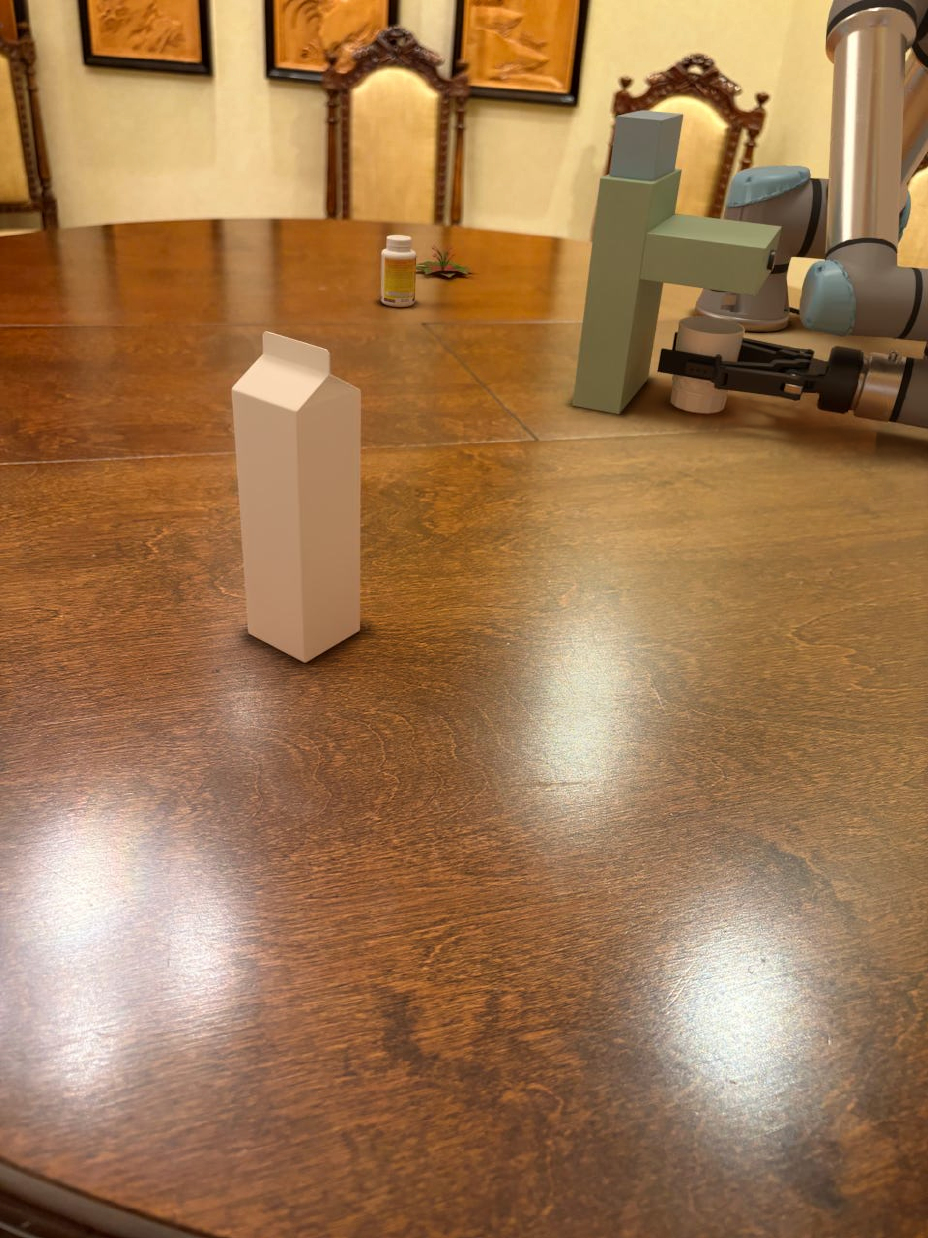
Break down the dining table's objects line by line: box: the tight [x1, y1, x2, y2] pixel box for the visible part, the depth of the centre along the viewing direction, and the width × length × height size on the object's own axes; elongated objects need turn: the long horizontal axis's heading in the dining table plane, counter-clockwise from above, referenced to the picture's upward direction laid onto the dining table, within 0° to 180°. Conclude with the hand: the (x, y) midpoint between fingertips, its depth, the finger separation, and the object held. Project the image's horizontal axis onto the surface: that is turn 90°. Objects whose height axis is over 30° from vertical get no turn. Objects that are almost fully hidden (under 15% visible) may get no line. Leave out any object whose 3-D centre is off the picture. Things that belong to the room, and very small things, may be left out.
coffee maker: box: [572, 109, 782, 415], centre depth 115 cm, size 20×16×32 cm
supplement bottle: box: [380, 234, 417, 308], centre depth 155 cm, size 6×6×10 cm
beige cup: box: [670, 316, 746, 415], centre depth 120 cm, size 8×8×10 cm
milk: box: [231, 331, 362, 663], centre depth 67 cm, size 6×6×22 cm
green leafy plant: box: [416, 245, 476, 278], centre depth 177 cm, size 12×12×5 cm
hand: (667, 351), depth 120 cm, fingers closed on beige cup, 8 cm apart
